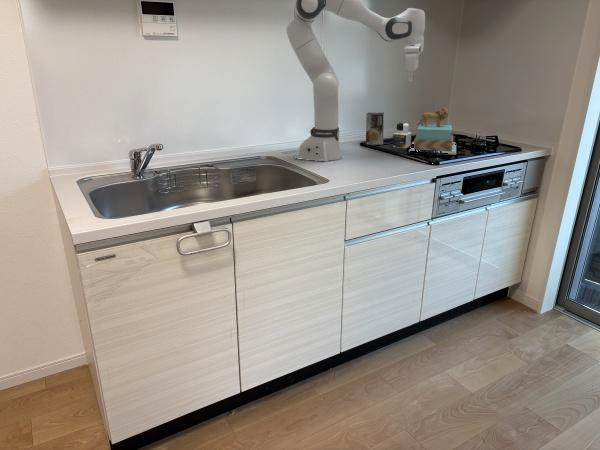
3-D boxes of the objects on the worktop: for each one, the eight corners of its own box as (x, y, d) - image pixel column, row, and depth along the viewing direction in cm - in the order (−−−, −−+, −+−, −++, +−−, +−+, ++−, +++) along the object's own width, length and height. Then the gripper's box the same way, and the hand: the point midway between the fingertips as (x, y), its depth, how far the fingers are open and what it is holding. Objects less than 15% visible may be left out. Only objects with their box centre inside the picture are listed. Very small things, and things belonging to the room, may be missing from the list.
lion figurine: (446, 125, 225) (448, 107, 222) (447, 127, 220) (449, 108, 217) (416, 125, 227) (418, 107, 224) (417, 127, 223) (418, 108, 219)
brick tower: (408, 152, 219) (410, 130, 214) (412, 143, 238) (414, 123, 234) (455, 154, 212) (458, 131, 208) (456, 145, 231) (458, 124, 227)
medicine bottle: (392, 147, 231) (393, 123, 226) (397, 144, 236) (399, 121, 232) (405, 148, 227) (406, 124, 222) (410, 145, 232) (412, 122, 228)
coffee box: (383, 142, 242) (384, 112, 236) (382, 144, 236) (383, 114, 230) (366, 142, 244) (367, 112, 238) (365, 144, 238) (366, 113, 232)
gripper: (408, 47, 208) (406, 78, 213) (403, 48, 190) (401, 82, 195) (422, 47, 206) (419, 78, 212) (418, 48, 188) (416, 82, 194)
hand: (411, 80), depth 203 cm, fingers open, 8 cm apart
